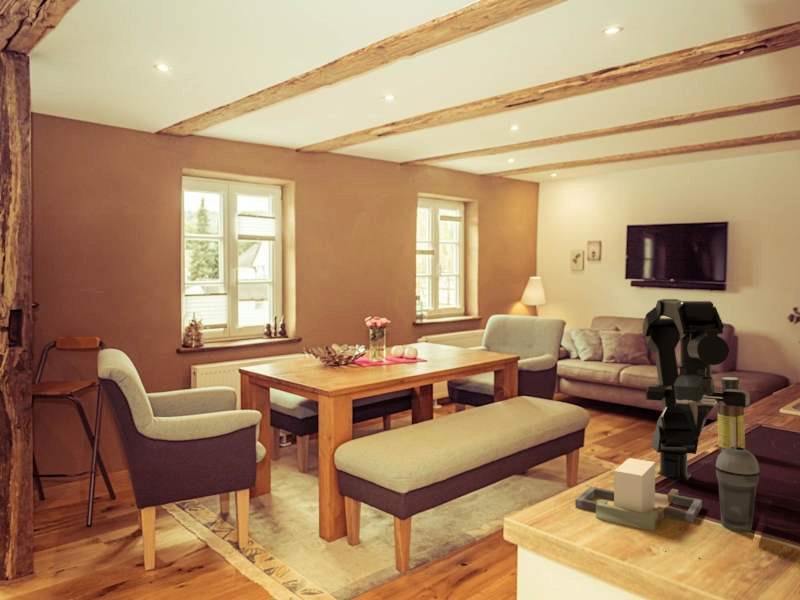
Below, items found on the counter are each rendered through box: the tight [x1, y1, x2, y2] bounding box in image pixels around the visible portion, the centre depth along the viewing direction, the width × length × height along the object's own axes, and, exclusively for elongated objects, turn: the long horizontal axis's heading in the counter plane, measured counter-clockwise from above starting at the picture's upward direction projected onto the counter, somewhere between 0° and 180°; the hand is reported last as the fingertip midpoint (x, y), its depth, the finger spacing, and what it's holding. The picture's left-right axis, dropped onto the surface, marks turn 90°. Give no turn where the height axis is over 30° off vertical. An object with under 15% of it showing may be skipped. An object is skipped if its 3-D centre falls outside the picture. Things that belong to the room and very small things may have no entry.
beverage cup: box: [714, 422, 761, 533], centre depth 110 cm, size 7×7×20 cm
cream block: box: [613, 457, 656, 513], centre depth 117 cm, size 10×5×9 cm, turn 144°
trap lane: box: [574, 486, 703, 532], centre depth 120 cm, size 21×20×4 cm
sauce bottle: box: [717, 376, 746, 453], centre depth 160 cm, size 6×6×20 cm
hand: (697, 437), depth 125 cm, fingers closed
